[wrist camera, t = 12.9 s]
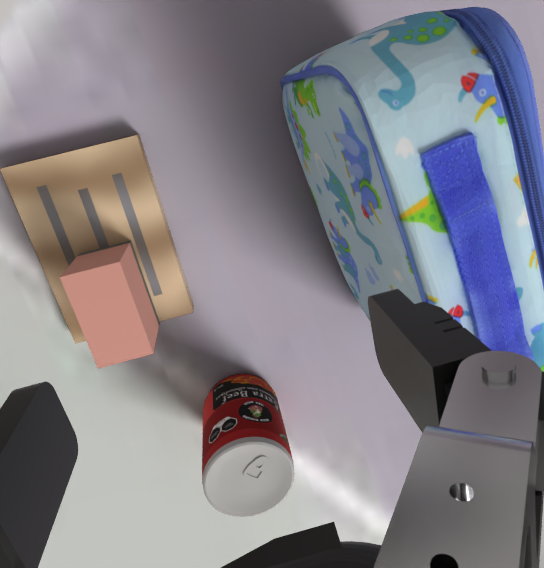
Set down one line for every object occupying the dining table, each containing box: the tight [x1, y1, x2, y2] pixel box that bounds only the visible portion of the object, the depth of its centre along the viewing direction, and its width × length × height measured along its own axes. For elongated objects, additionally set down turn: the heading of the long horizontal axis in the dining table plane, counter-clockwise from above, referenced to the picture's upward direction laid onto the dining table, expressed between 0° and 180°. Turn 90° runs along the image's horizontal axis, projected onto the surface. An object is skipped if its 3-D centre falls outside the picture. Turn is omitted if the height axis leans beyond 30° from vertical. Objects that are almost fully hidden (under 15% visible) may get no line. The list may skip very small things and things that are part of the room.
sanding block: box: [60, 241, 160, 368], centre depth 40 cm, size 8×4×6 cm, turn 13°
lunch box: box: [281, 7, 544, 372], centre depth 35 cm, size 26×11×21 cm, turn 24°
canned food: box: [202, 374, 294, 517], centre depth 45 cm, size 8×8×11 cm
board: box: [0, 134, 194, 344], centre depth 42 cm, size 16×11×2 cm
